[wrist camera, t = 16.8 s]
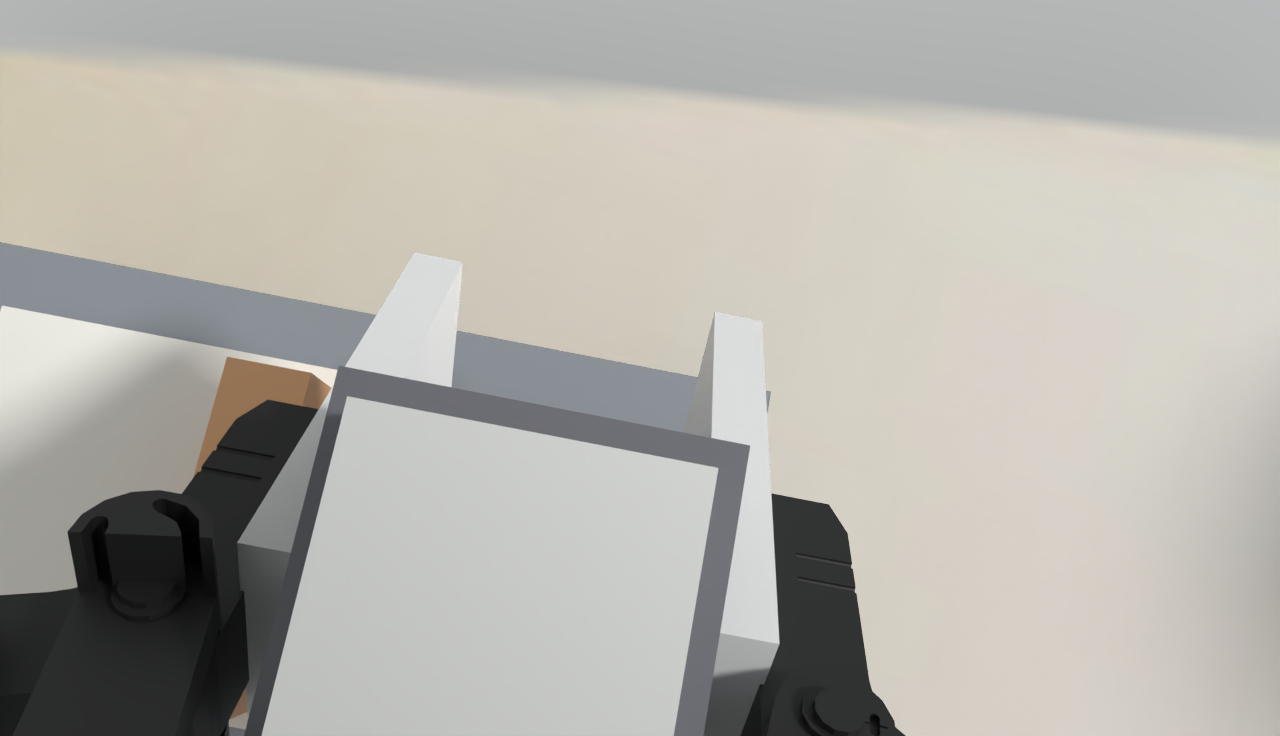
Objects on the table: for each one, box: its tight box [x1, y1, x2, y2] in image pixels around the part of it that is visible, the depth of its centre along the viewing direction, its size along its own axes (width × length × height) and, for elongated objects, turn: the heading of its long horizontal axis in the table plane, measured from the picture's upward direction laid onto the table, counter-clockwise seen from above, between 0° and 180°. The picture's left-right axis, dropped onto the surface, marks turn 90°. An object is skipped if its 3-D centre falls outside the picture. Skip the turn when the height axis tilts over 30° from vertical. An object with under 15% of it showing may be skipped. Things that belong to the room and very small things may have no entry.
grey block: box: [244, 366, 750, 736], centre depth 13 cm, size 4×4×11 cm
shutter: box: [0, 306, 337, 730], centre depth 18 cm, size 7×7×3 cm
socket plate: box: [0, 242, 771, 736], centre depth 21 cm, size 17×14×2 cm
